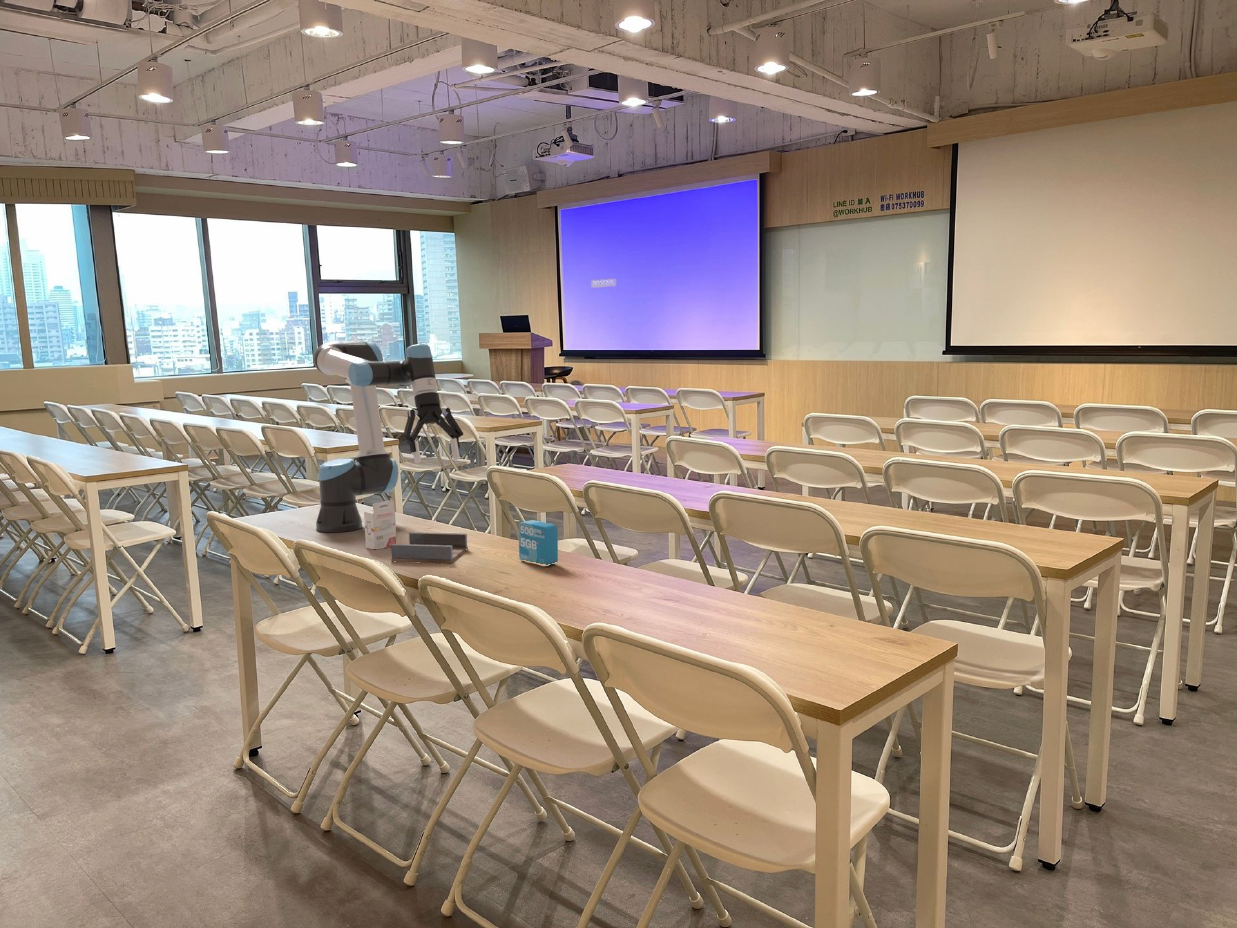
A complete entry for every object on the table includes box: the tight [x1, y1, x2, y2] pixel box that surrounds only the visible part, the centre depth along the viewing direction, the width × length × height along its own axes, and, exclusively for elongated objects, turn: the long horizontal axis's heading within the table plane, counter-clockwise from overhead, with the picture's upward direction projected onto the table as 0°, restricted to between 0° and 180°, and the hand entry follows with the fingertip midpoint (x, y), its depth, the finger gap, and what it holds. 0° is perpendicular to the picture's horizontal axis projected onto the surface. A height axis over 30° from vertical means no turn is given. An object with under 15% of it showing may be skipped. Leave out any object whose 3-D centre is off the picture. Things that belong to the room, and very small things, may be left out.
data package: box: [518, 519, 559, 565], centre depth 261 cm, size 12×4×12 cm, turn 49°
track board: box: [390, 531, 469, 565], centre depth 270 cm, size 18×18×5 cm
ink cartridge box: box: [363, 499, 397, 550], centre depth 280 cm, size 9×5×15 cm, turn 143°
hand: (437, 461), depth 275 cm, fingers open, 13 cm apart
